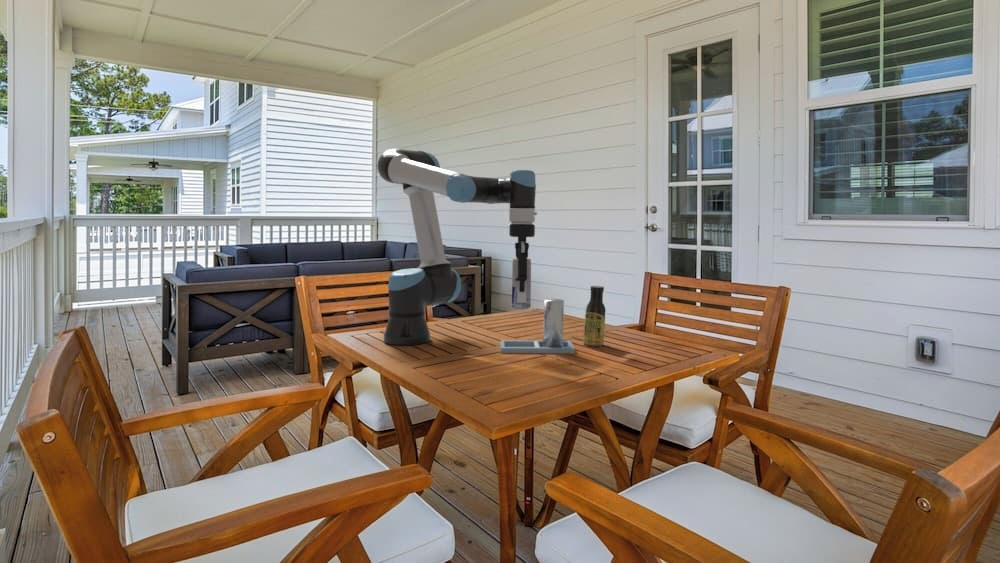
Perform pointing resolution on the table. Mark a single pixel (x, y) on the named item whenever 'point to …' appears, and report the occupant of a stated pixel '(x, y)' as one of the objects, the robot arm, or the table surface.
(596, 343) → the sauce bottle
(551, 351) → the divided tray
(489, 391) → the table surface
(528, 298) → the beverage can
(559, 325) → the twin can
